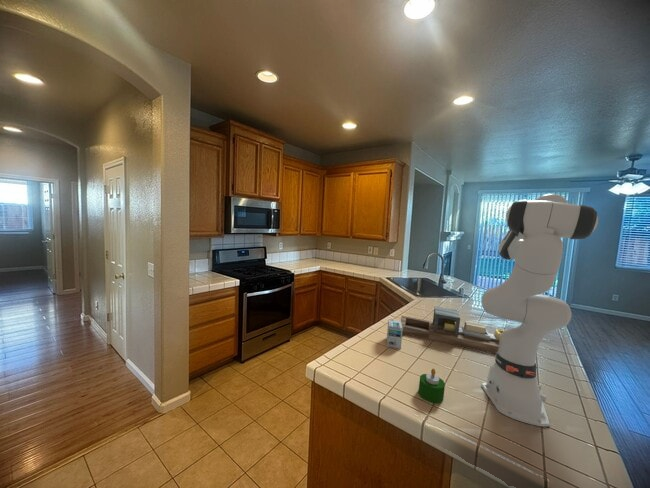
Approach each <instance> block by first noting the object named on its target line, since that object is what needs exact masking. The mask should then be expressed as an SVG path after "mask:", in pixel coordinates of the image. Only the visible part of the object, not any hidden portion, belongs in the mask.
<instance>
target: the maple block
mask: <svg viewBox="0 0 650 488" xmlns="http://www.w3.org/2000/svg"><path fill="white" fill-rule="evenodd" d="M463 325H464V327H465V329H466V331H470V332H475V333H480V334H485V333H486V330H487V328H486V325H485V324H484V323H479V322H474V321H468V320H464V324H463Z"/></svg>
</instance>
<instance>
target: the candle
mask: <svg viewBox="0 0 650 488" xmlns="http://www.w3.org/2000/svg"><path fill="white" fill-rule="evenodd" d="M445 387H446V384H445V381H444V380H443V379H442V378H440V377H439V376H437V375H436V369H435V368H432V369H431V371H430V373H422V374H421V375H420V376H419V381H418V392H417V393H418V395H419V396H420V398H422V400H424V401H426V402H428V403H431V404H441V403H442V402H443V401H444V397H445V396H444V395H445V390H446V389H445Z"/></svg>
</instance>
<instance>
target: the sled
mask: <svg viewBox="0 0 650 488" xmlns="http://www.w3.org/2000/svg"><path fill="white" fill-rule="evenodd" d="M464 325H465V324H463V325H461V327H462V328H459V333H460V334H464V336H469V337H474V338H479V339H484V340H489V341H490V340H495V341H500V335H501V333H502V332H504V331H505V330H504V329H503V330H502V329H497V328H495V329H494V334H490V333H491V332H489V331H488V330H487V329H486V333H485V334H480V333H475V332H470V331H466V329H465V327H464ZM442 326H443V330H445V331H450V332H455V326H456V321H450V320H445V319H444V324H443V325H442ZM488 332H489V333H488Z"/></svg>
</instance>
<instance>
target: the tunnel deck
mask: <svg viewBox="0 0 650 488" xmlns="http://www.w3.org/2000/svg"><path fill="white" fill-rule="evenodd" d="M432 317H433V319H432V321H431V320H426V319H422V318H415V317H412V316H407V315H401V316H400V320H401V324H402V327H403V332H402V335H403V334H404V335H408V336H412V337H418V338H422V339H427V340H430V341H436V342H440V343H444V344H445V343H446V344H450V345H454V346H458V347H463V348H467V349H471V350H477V351H482V352H485V353H491V354H495V355H496V353H497V351H498V348H499V341H495V340H490V341H489V340H484V339H479V338H474V337H469V336H464V334H460V333H459V328H462V326H460V324H461V323H460V322H461V316H460V314H459V311H458V310H456V309H452V308H446V307H440V306H434V309H433V316H432ZM444 319H445V320H450V321H456V326H455V332H450V331H445V330H443V326H442V325H443V324H444ZM488 333H490V334H495V332H494V333H493V332H489V331H488Z"/></svg>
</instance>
